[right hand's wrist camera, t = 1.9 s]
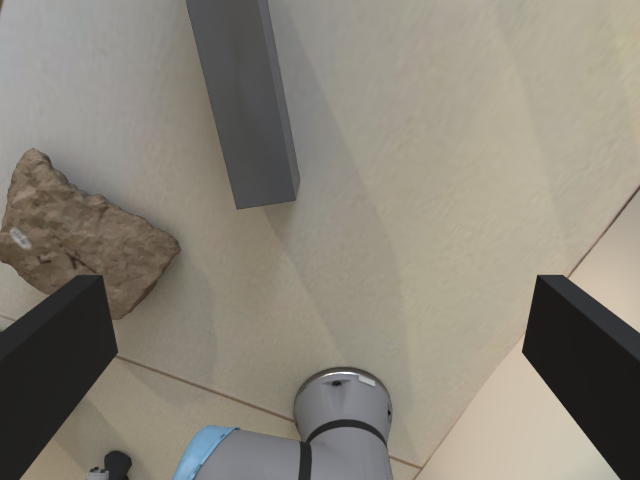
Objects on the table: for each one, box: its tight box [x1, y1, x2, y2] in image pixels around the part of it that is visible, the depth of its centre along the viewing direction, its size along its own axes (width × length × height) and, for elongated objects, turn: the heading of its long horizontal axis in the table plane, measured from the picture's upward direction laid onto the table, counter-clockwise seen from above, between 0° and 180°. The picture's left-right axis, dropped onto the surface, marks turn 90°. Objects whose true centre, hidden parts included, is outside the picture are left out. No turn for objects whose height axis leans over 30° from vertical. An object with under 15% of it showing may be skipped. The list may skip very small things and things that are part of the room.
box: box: [186, 0, 300, 210], centre depth 43 cm, size 26×6×10 cm, turn 9°
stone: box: [0, 148, 181, 320], centre depth 52 cm, size 21×15×6 cm
